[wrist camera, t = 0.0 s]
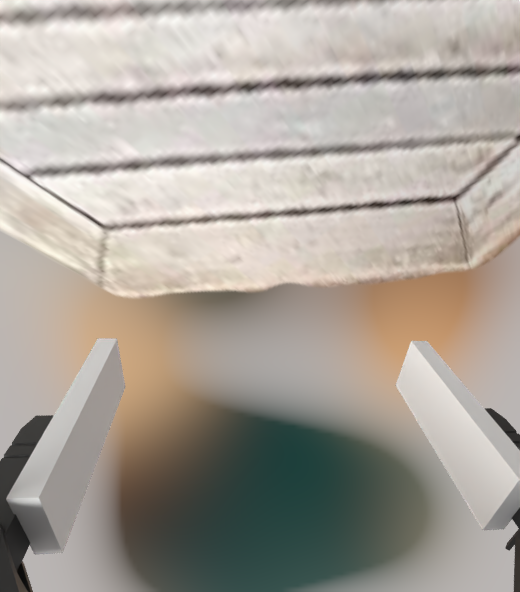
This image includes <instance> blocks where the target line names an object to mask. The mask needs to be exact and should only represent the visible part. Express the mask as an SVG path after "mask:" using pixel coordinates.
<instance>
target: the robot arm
mask: <svg viewBox="0 0 520 592" xmlns="http://www.w3.org/2000/svg"><path fill="white" fill-rule="evenodd" d="M396 387H397V388H398V390H399V392H400V393H401V395H402V397H403V398H404V400H405V402H406V403H407V405H408V407H409V408H410V410H411V412H412V413H413V415H414V417H415V418H416V420H417V422H418V423H419V425H420V427H421V428H422V430H423V432H424V433H425V435H426V437H427V438H428V440H429V442H430V443H431V445H432V447H433V448H434V450H435V452H436V453H437V455H438V457H439V458H440V460H441V462H442V463H443V465H444V467H445V468H446V470H447V472H448V473H449V475H450V477H451V478H452V480H453V482H454V483H455V485H456V486H457V488H458V490H459V492H460V493H461V495H462V497H463V498H464V500H465V502H466V503H467V505H468V507H469V508H470V510H471V512H472V513H473V515H474V517H475V518H476V520H477V522H478V523H479V525H480V527H481V529H482V530H497V529H504V528H505V527H506V526H507V525H508V523H509V522H510V521H511V519H513V520H514V522H515V523H516V525H517V526H518V528H519V529H518V531H517V532H516V533H515V534H514V535H513V537H512V538H511V539H510V540H509V542H508V543H507V545H506V549H507V550H510V549H511V548H512V547H513V546H514V545H515V568H514V592H520V435H519V434H517V433H516V430H515V429H514V428H513V427H512V426H511V425H510V423H509V422H508V421H507V420H506V419H505V418H503V417H502V416H501V415H499V414H498V413H497V412H495V411H494V410H493V409H491V408H490V409H484V408H483V407H482V405H481V404H480V403H479V402H478V401H477V400H476V398H475V397H474V396H473V395H472V394H471V392H470V391H469V390H468V389H467V388H466V386H465V385H464V384H463V383H462V382H461V381H460V379H459V378H458V377H457V376H456V375H455V374H454V373H453V371H452V370H451V369H450V368H449V367H448V366H447V364H446V363H445V362H444V361H443V360H442V358H441V357H440V356H439V355H438V354H437V352H436V351H435V350H434V349H433V348H432V346H431V345H430V344H429V343H428V342H427V341H411V344H410V346H409V349H408V352H407V355H406V358H405V360H404V363H403V366H402V369H401V372H400V375H399V377H398V380H397V383H396ZM124 389H125V383H124V377H123V371H122V365H121V360H120V354H119V348H118V342H117V339H98V340H97V341H96V343H95V345H94V346H93V348H92V350H91V352H90V354H89V355H88V357H87V359H86V360H85V362H84V364H83V366H82V368H81V369H80V371H79V373H78V374H77V376H76V378H75V380H74V381H73V383H72V385H71V387H70V388H69V390H68V392H67V393H66V395H65V397H64V399H63V400H62V402H61V404H60V406H59V407H58V409H57V411H56V413H55V414H54V415H53V416H35V417H34V418H33V419H32V420H31V421H30V422H29V423H27V424H26V425H25V426H24V427H23V428H22V429H21V430H20V432H19V433H18V435H17V436H16V438H15V439H14V441H13V442H12V446H10V447H9V449H8V450H7V451H6V453H5V454H4V458H2V459H1V461H0V592H33V591H32V587H31V584H30V581H29V578H28V575H27V572H26V569H25V566H24V563H23V561H22V560H23V558H24V556H25V553H26V551H27V549H28V547H29V545H30V546H31V548H32V550H33V552H34V554H51V553H63V551H64V548H65V546H66V543H67V540H68V538H69V534H70V532H71V530H72V527H73V524H74V522H75V519H76V516H77V514H78V511H79V508H80V506H81V503H82V500H83V498H84V495H85V493H86V490H87V487H88V484H89V482H90V479H91V477H92V474H93V471H94V468H95V466H96V463H97V461H98V458H99V455H100V453H101V450H102V447H103V445H104V442H105V439H106V437H107V434H108V431H109V429H110V426H111V423H112V421H113V418H114V416H115V413H116V410H117V408H118V405H119V402H120V400H121V397H122V394H123V392H124Z"/></svg>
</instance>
